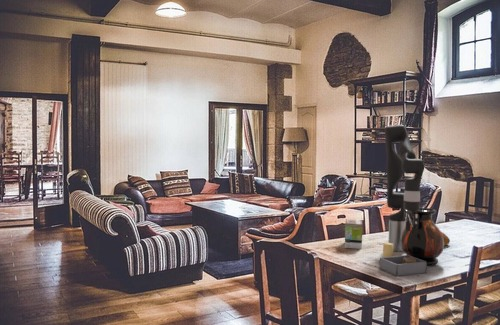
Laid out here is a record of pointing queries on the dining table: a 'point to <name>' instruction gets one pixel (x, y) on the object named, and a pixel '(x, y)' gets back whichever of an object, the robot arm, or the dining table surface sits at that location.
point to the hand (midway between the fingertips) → (410, 232)
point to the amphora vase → (424, 239)
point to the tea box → (353, 234)
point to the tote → (402, 266)
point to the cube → (409, 260)
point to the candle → (387, 250)
